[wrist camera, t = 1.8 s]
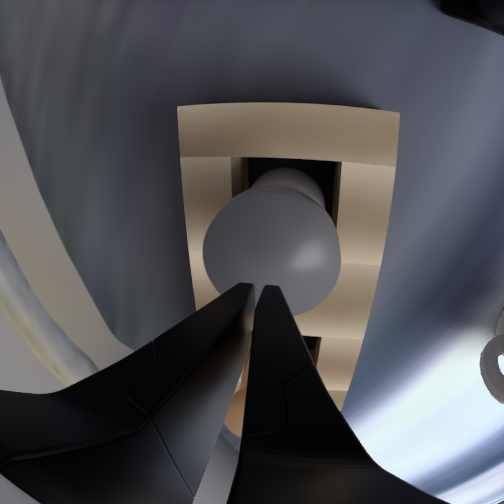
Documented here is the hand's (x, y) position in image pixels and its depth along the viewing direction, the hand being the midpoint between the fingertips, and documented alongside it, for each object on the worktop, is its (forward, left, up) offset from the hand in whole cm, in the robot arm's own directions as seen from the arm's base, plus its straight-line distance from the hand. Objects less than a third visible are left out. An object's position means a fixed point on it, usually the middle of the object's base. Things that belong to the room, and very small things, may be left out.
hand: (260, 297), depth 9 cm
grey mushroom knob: (0, 0, -8) cm, 8 cm away
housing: (0, +5, -11) cm, 12 cm away
